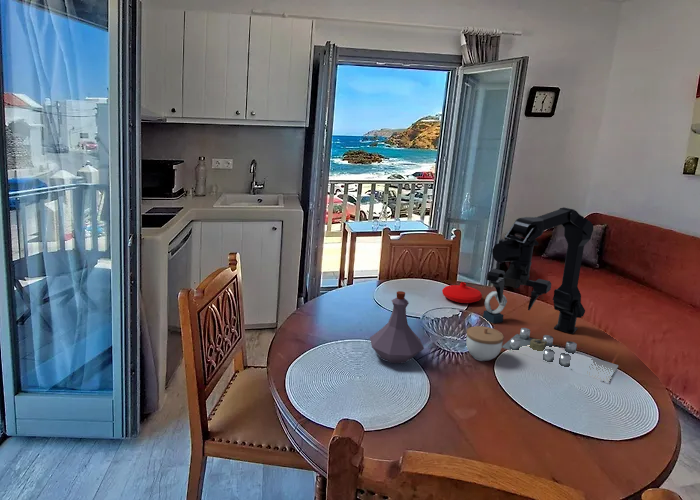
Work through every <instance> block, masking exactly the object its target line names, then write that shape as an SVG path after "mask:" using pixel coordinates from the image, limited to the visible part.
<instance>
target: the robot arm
mask: <svg viewBox="0 0 700 500" xmlns="http://www.w3.org/2000/svg"><path fill="white" fill-rule="evenodd" d="M558 226H562V227H563V231H564V233H563V236H564V238H565V241H566V243H567V249H566V255H565V262H564V268H563V274H562V279H561V285H560V286H558V287H557V288H555V289H554V290H553V297H552V300H553V307H554V308H553V309H554V310H555V311H558V312H559V314H558V320H557V324H556V325H555V326H553V329H554V330H557V331H559V332H564V333H566V334H570V335H574V334H575V333H576V331H577V330H578V326H577V327H576V324H577V318H578V319H581V318H582V317H584V316H585V313H586V309H585V308H584V306H583V304H582V294H581V292H580V289H579V279H580V274H581V266H582V263H583V255H584V249H585V246H586V245H587V243H588V242H589V241H590V240H591V238H592V235H593V232H594V224H593V223H592V222H591V221H590V220H589V219H588V218H586V217H584V216H583V215H581V214H580V213H579V212H578V211H577V210H575V209H573V208H570V207H564V206H563V207H560V208H559V209H557V210H554V211H551V212H547V213H545V214H542V215H539V216H537V217H536V216H535V217H531V216H526V217H518V218H516V220H514V223H513V224H512V226H511V227H510V228H509V230H508V232H507V233H506V234H505V236H504V239H503V238H500V239H499V240H498V243H496V244H495V245H494V246H493V248H492V250H491V252H492V253H491V254H492V257H493V260H495V261H496V262H498V263H504V262H505V263H506V262H510V264H509V267H508V269H507V270H506V271H505V270H501V269H497V268H493V269H492V270H489V271H487V273H486V277H485V280H486V281H489V283H490V284H492V285H493V286H494V288H495V291H496V292H497V295H498V300H499V303H501V302H502V298H503V295H504V290H505V287H511V288H513V289H519V288H520V287H521V286H527V287H532V289H533V290H532V291H530V298H529V302H528V305H527V308H528V309H527V311H531V309H532V307H533V306H534V304H535V302H536V300H537V299H538V297H539V296H542V295H544V294H545V295H546V294H548V293H549V292H550V291H551V289H552V282H551V281H550V280H545V279H541V278H538V279H537V280H531V279H530V273H531V272H530V270H531V266H532V263H533V262H532V259H533V258H532V257H533V253H534V246H539V245H540V244H539V242H538V240H537V239H538V238H539V237H541V236H542V235H543V234H544V232H545V231H547V230H550V229H552V228H555V227H558ZM499 303H498V304H499Z"/></svg>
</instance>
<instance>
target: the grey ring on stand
mask: <svg viewBox="0 0 700 500" xmlns="http://www.w3.org/2000/svg"><path fill="white" fill-rule="evenodd" d="M493 297H495V299H496V301H497V303H498V307H497V308H496V309H492V307H491V304H490V303H491V302H490V301H491V299H493ZM507 303H508V299H507V297H506V296H505V295H504V294H503V298H502V302H501V303H499V300H498V295H497V291H496V290H494V291H493V290H492V291H491V292H489V293H488V294H487V295H486V297H485V300H484V307H485V310H483V313H482V319H483V318H485V319H486V320H487V321H486V320H485V321H486V322H488V321H489V322H488V323H491V324H499V323H501V324H502V323H503V321H504V314H502V313H501V312H502V311H503V310H504V309H505V307H506V306H507Z"/></svg>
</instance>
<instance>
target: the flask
mask: <svg viewBox="0 0 700 500" xmlns="http://www.w3.org/2000/svg"><path fill="white" fill-rule="evenodd" d="M405 297H406V292H405V291H402V290H400V291H399V290H398V291H396V297H395V298H393V299H391V302H392V305H393V308H392V312H391V314H390V318H389V319H388V322H387V323H386V324H385V325H384V326H383V327H382V328H380V329H379V330H378V331H377V332H375V333H374V334H373V335H371V336H370V337H369V340H370V344H371V348H372V349H373V350H374V352H375V353H376V354H377V355H378V356H379V358H380V359H381V358H382V359H381V360H383V359H384V361H386V362H387V363H390V362H391V363H390V364H405V363H407V362H409V361H410V359H411V360H412V359H413V358H414V357H416V356H417V355H418V354H419V353H421V352H422V351H423V350H424V349H425V348H424V344H423V343H422V341H421V339H420V338H419V336H418V335H417V334H416V333H415V331H413V329H412V328H411V327H410V326H409V324H408V317H407V307H408V306H409V303H410V302H409V301H408V300H407V299H406V298H405Z"/></svg>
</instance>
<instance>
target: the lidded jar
mask: <svg viewBox="0 0 700 500" xmlns="http://www.w3.org/2000/svg"><path fill="white" fill-rule="evenodd" d="M504 338H505V337H504V334H503V333H502V332H501V331H499V330H498V329H496V328H493V327H488V326H482V325H481V326H480V325H474V326H470V327H468V328H467V329H466V343H465V344H466V348H467V350H468V351H467V352H469V354H470V355H471V356H472V358H473V359H475V360H477V361H479V362H485V361H491V360H493V359H495V358H496V357H497V356H499V354H500V352H501V350H502V346H503V343H504V340H505V339H504Z"/></svg>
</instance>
